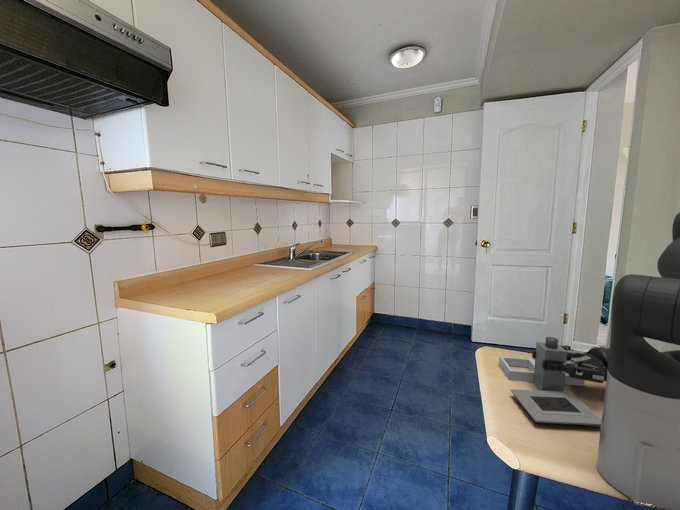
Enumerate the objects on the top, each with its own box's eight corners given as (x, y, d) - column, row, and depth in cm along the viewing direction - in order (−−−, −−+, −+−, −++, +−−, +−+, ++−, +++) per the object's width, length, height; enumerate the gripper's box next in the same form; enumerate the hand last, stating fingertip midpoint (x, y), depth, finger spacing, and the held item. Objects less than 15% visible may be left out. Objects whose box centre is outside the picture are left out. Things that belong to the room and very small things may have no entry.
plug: (563, 395, 68) (568, 343, 66) (542, 393, 69) (546, 342, 67) (553, 384, 72) (557, 335, 71) (533, 383, 73) (537, 334, 72)
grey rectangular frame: (584, 385, 72) (585, 375, 71) (509, 379, 75) (510, 369, 75) (565, 369, 80) (566, 359, 79) (498, 364, 83) (499, 354, 82)
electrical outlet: (569, 400, 67) (570, 390, 67) (606, 433, 57) (607, 422, 56) (509, 397, 68) (510, 388, 68) (535, 430, 58) (535, 419, 58)
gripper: (599, 337, 73) (525, 333, 77) (647, 365, 60) (554, 359, 63) (596, 365, 74) (523, 359, 78) (642, 399, 61) (551, 391, 64)
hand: (537, 359), depth 70 cm, fingers closed on plug, 4 cm apart
